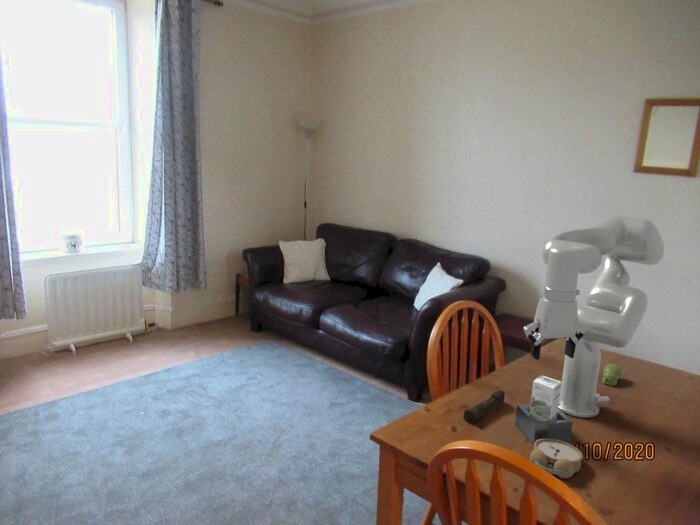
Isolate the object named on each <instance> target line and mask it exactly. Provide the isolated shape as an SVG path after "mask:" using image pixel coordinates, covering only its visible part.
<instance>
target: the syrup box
mask: <svg viewBox="0 0 700 525" xmlns="http://www.w3.org/2000/svg"><path fill="white" fill-rule="evenodd" d="M561 384H562V380H558V379H554V378H551V377H548V376H545V375H542V374H541V375H539V376H537V377H536V378H535V379H534V380H533V381H532V390H531V391H532V392H531V398H530V399H531V400H530V404H531V406H530V414H531V415H532V416H533V417H534V418H535V419H536V420H537V421H555V420H557V412H558V405H559V398H560V392H561Z"/></svg>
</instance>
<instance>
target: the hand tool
mask: <svg viewBox="0 0 700 525" xmlns="http://www.w3.org/2000/svg"><path fill="white" fill-rule="evenodd" d="M505 396H506V395H505V391H503V390H497V391H495V392H492V393H491V394H490V397H488V398H487V399H485V400H483V401H482V402H479V403H478V404H476V405H474V406H472V407H471V408H469V409H465V410H464V411H463V417H462V418H463V419H464V422H467V423H469V424H471V425H475V424H476V423H477V422H478V420H480V419H481V418H482V417H484V416H486V415H488V414H489V413H491V412H493V411H494V410H499V409H501V407H502V406H503V404H504V403H505Z"/></svg>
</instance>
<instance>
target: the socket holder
mask: <svg viewBox="0 0 700 525" xmlns="http://www.w3.org/2000/svg"><path fill="white" fill-rule="evenodd" d="M530 406H531V403H522V404H516V410H515V411H516V412H515V420H514V425H515V426H516V427H517V429H518V430H520V432H521V433H522V434H523V435H524V436H525V438H526V439H527V440H528V441H529V442H530V443H531V444H532V445H533V446H534V443H535V441H537V440H538V439H543V438H550V439H556V440H560V441H564V442H566V443H569V444H571V438H572V437H571V436H572V431H573V430H572V429H573V423H574V422H573V421H572V419H570V418H569V417H568V416H567V414H565V413H564V412H562V411H560V410H559V409H558V412H557V420H555V421H537V420H536V419H535V418H534V417H533V416H532V415H531V414H530Z"/></svg>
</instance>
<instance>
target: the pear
mask: <svg viewBox="0 0 700 525" xmlns="http://www.w3.org/2000/svg"><path fill="white" fill-rule="evenodd" d="M622 376H623V370H622V368H621V366H620V365H619V364H616V363H608V364H607V365H606V366H604V368H603V376H602V379H601V381H602V384H604V385H607V384H608V385H607V386H611V387H615V386H617V385H618V380H620V379H621V378H622Z"/></svg>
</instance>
